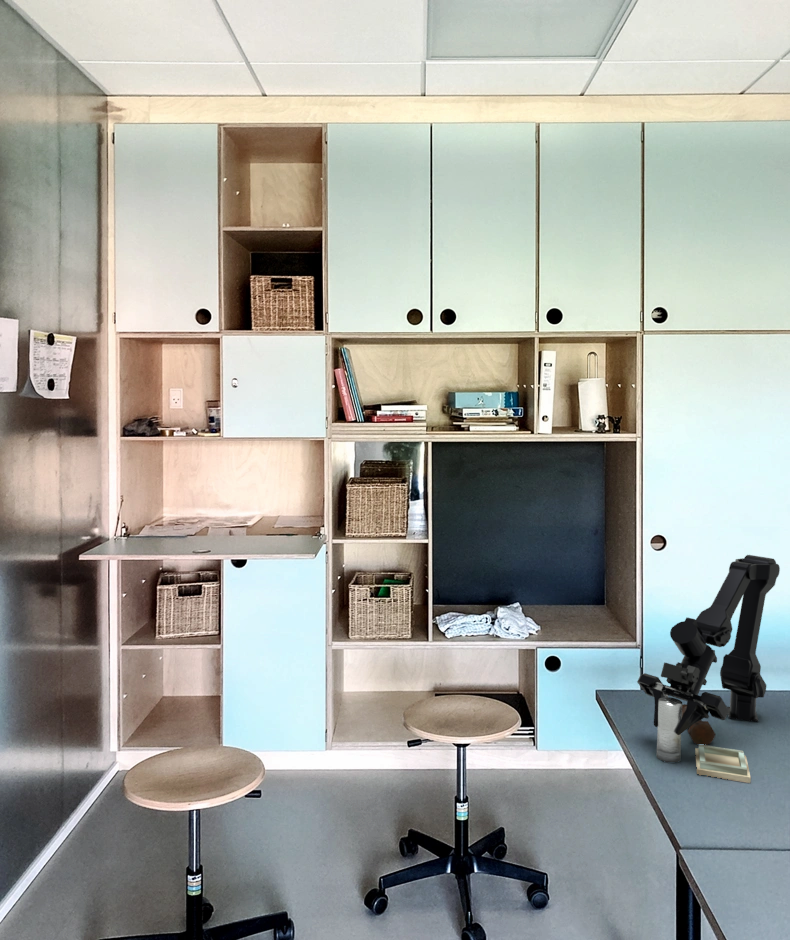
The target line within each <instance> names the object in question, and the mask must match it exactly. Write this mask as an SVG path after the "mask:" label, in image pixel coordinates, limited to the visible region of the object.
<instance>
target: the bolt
mask: <svg viewBox="0 0 790 940" xmlns="http://www.w3.org/2000/svg"><path fill="white" fill-rule="evenodd" d="M686 708H687V703H686V704H685V703H684V704H683V703H682V717H683V715H684V713H685V711H686ZM687 733H688V735H689V736H690V738H691V741H692V742H693V744H695V743H696V744H695V745H697V744H704V745H705V744H706V746H709V745H711V743H712V742H713V741H714V740H715V737H716V732H715V730H714V729H713V727H712V725H711V724H710V722H709V721H707V720H703V719H701V720H700V721H698V722H696V723H695V724H693V725H692V726H690V727H689V728H688V729H687ZM708 744H709V745H708Z"/></svg>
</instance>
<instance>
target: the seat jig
mask: <svg viewBox="0 0 790 940" xmlns="http://www.w3.org/2000/svg"><path fill="white" fill-rule="evenodd" d="M694 749H695V751H694V752H695V753H694V754H695V755H696V756H695V765H696V766H695V767H697V769H696V775H697V774H699V775H698V776H701V775H707V776H706V777H708V776H711V777H710V778H714V777H717V778H716V779H720V778H722V779H723V780H727V779H728V781H734V782H741V783H747V784H751V779H752V778H751V773H750V769H749V763H748V758H747V756H746V754H745V753H744V750H739V749H734V748H727V747H719V746H714V745H713V746H712V745H698V748H697V747H695V748H694Z"/></svg>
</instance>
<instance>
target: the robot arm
mask: <svg viewBox="0 0 790 940" xmlns="http://www.w3.org/2000/svg"><path fill="white" fill-rule="evenodd" d="M728 567H729V568H728V573H727V576H726V577H725V579H724V580H723V582H722V585H720V589H719V590H718V592H717V594H716V596H715V597H714V600H713V602H712V603H711V604H710V606H709V607H708V608H705V609H704V610H702V611H700V613H699V615H698V616H697V617H696V619H695V618H690V617H686V618H685V619H684V621H680V622H678V623H676V624H675V625H673V626H672V627H671V629H670V632H669V633H670V634H669V636H670V639H671V640H672V641H673V643H674V645H675V646H676V648H678V651H679V652H680V654H681V655H683V658H682V660H681V662H676V663H675V664H672V663H669V662H663V665H662V670H661V674H660V677H661V678H664V679H665V678H666V682H667V683H668V684H670V686H669V685H666V684H663V682H662V680H661V679H660V677H658V676H656V675H653V674H650V673H646V672H644V673H642V674H640V676H639V677H638V679H637V681H636V682H637V685H638V686H640V688H641V689H642V691H643V692H644V693H645V694H646V695H647V696H649V697H653V699H654V713H653V726H654V727H656V728H658V702H659V699H660V698H663V697H671V698H676V699H678V700H680V701H685V702H686V704H687V708H686V711H685V713H684V715H683V717H682V719H681V721H680V723H679V725H678V727H677V730H676V734H677V735H680V734H681V735H682V734H683V733H684V732H685V731H688V730H689V727H690V726H692V725H693V724H695V723H696V722H698V721H700V720H703V719H709V718H710V716H711V717H713V718H715V719H719V720H722V721H725V720H726V718H727V716H728V718H729V719H731V720H738V721H747V722H755V723H759V716H758V713H757V699H758V698H764V697H765V695H766V692H767V684H766V682H765V680H764V678H763V677H762V675H761V668H762V667H761V664H760V661H759V659H758V657H757V654H756V653H757V647H758V640H759V636H760V628H761V623H762V620H763V619H762V617H763V614H764V613H763V612H764V606H765V600H766V597H767V596H766V595H767V594H768V593H769V592H770V590H772V589H773V588H774V587H775V586H776V582H777V578H778V577H779V575H780V571H781V568H780V565H779V564H778V563H777V562H776V559H774V558H771V557H765V556H760V555H759V556H758V555H753V554H752V555H751V554H747V555H745V556H744V558H736V559H735V561H732V562H730V564H729V566H728ZM740 601H741V607H740V612H739V618H738V622H737V629H736V635H735V640H734V646H733V649H732V650H731V651H730V652H729V653H728V654H727V653H726V654H725V655H723V660H722V665H721V668H720V670H719V671H720V672H719V675H720V681H721V687H722V689H723V690H729V691H730V699H729V706H727V705H726V702H724V700H723V699H722V696H720V695H717V694H714V693H711V692H707V691H704V692H702V693H701V694H700V695H699V693H700V691H701V689H702V687H703V686H706V685H707V682H708V681H707V679H706V678H707V675H708V673H709V671H710V668H711V666H712V664H713V663H715V664H716V663H718V658H717V655H716V650H715V649H713V648H712V647H713V646H714V647H718V648H722V647H725V646H727V644H728V643H729V642H730V641H731V637H732V632H733V625H732V621H731V620H732V618H733V615H734V614H735V612H736V610H737V608H738V606H739V604H740ZM711 646H712V647H711Z"/></svg>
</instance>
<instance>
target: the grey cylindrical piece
mask: <svg viewBox="0 0 790 940" xmlns="http://www.w3.org/2000/svg"><path fill="white" fill-rule="evenodd" d="M682 705H683V700H681V699H678V698H675V697H672V696H668V697H663V698H660V699H659V702H658V726H657V736H656V738H657V739H656V740H657V741H656V758H657V759H658V760H659V761H661V760H662V762H664V761H665V762H664V763H668V762H677V763H679V762H681V760H682V759H681V757H682V733H681V734H680V735H677V734H676V730H677V727H678V725H679V723H680V721H681V719H682ZM680 759H681V760H680ZM678 761H679V762H678Z"/></svg>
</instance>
